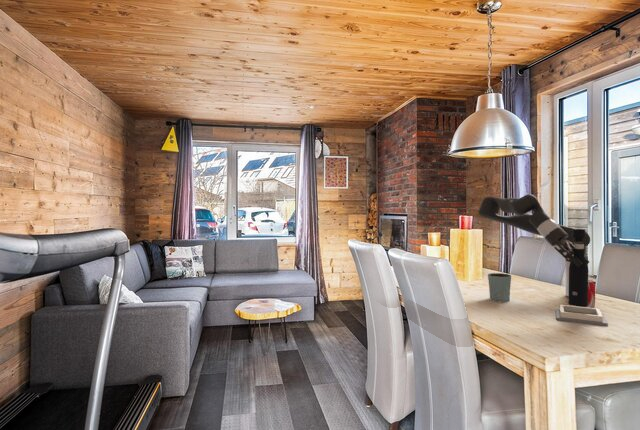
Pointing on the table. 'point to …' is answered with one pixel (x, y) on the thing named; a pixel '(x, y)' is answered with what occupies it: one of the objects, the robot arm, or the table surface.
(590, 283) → the soda can
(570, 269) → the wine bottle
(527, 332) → the table surface
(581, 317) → the dock
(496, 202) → the robot arm
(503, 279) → the grey green cup
